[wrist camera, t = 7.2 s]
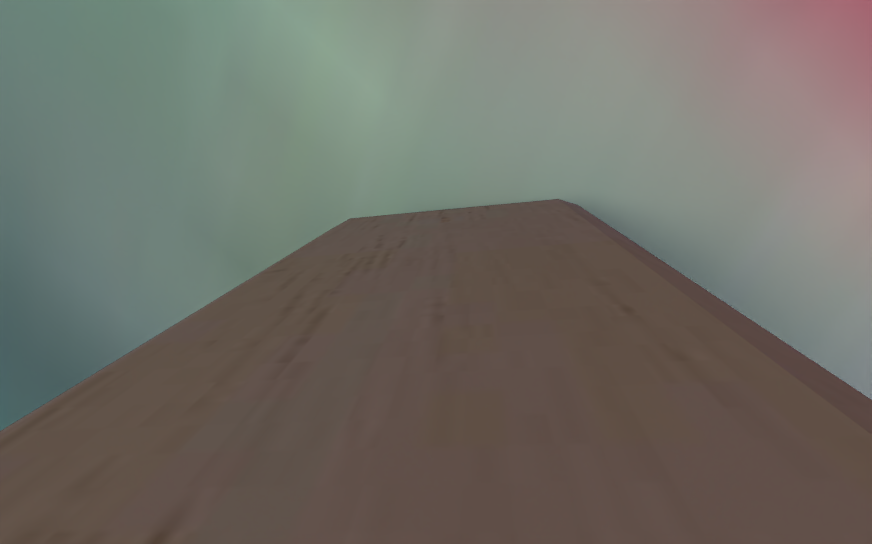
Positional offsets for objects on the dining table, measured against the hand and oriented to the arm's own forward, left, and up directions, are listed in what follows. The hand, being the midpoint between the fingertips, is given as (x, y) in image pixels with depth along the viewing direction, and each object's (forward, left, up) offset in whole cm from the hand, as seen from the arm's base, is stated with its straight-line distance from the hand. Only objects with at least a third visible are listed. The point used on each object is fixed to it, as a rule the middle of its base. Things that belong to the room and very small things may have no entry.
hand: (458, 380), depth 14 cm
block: (0, 0, -5) cm, 5 cm away
